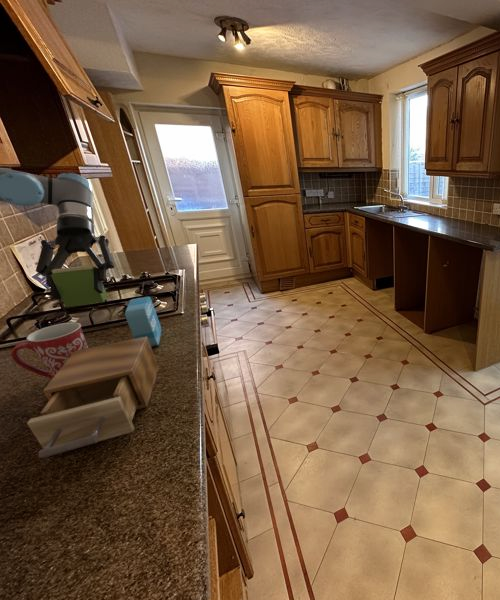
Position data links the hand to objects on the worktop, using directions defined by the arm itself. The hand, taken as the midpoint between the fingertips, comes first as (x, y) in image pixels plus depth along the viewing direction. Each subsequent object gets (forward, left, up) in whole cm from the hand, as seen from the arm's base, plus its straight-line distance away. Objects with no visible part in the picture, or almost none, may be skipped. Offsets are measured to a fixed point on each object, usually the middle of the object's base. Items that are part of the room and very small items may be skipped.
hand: (77, 294), depth 85 cm
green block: (-1, +3, -4) cm, 5 cm away
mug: (+4, -15, -17) cm, 23 cm away
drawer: (+25, -32, -16) cm, 43 cm away
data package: (+11, +4, -17) cm, 21 cm away
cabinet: (+20, -21, -17) cm, 33 cm away
